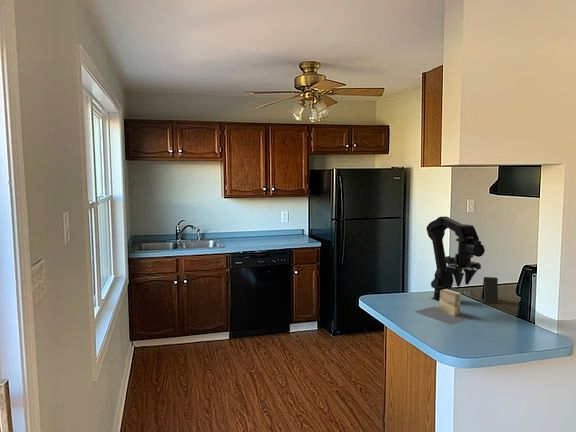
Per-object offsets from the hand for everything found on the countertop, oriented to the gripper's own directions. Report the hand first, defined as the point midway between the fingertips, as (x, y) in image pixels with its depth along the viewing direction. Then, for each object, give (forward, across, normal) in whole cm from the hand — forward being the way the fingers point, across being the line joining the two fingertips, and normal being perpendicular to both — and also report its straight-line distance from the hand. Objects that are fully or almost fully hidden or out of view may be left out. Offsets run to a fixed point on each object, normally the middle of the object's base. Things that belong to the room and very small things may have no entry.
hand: (462, 285), depth 213 cm
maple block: (+12, +9, 0) cm, 15 cm away
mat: (+12, +14, 0) cm, 18 cm away
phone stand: (+12, -26, -2) cm, 29 cm away
